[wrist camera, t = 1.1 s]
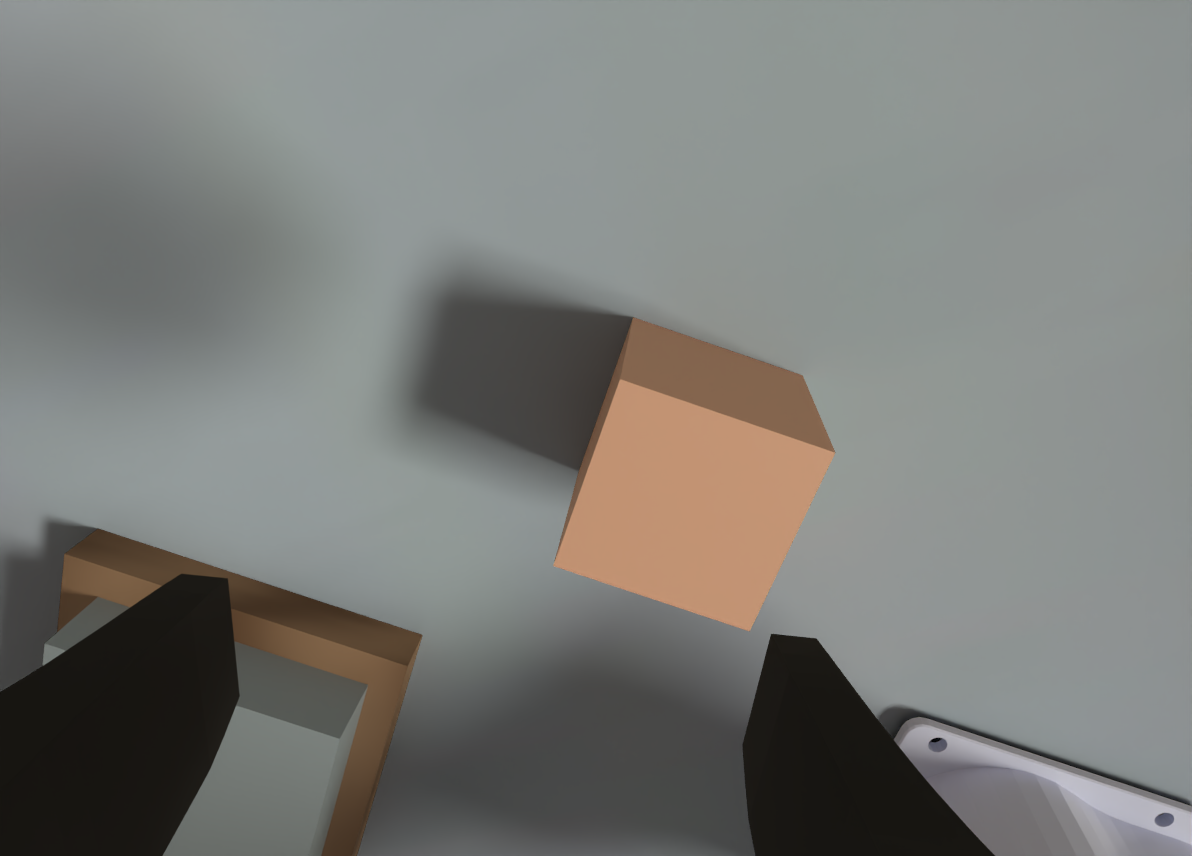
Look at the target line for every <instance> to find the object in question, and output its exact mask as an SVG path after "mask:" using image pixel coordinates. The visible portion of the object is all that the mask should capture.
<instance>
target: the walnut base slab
mask: <svg viewBox="0 0 1192 856" xmlns="http://www.w3.org/2000/svg"><path fill="white" fill-rule="evenodd" d="M180 574H190V575H200V576H210V577H220V578H228V583H229V593H230V603H231V613H232V623H233V633H234V641H235V642H238V643H241V644H244V645H247V646H250V647H253V648H256V649H259V650H263V651H266V652H269V653H272V654H275V655H278V656H281V657H284V658H287V659H290V660H293V661H296V662H299V663H302V664H306V665H309V666H312V667H315V668H318V669H321V670H324V671H327V672H330V673H333V674H336V675H339V676H342V677H345V678H348V679H352V680H355V681H358V682H361V683H364V684H367V685H368V687H367V691H366V695H365V698H364V702H363V706H362V709H361V713H360V717H359V720H358V724H357V727H356V731H355V735H354V738H353V742H352V746H351V749H350V753H349V757H348V760H347V764H346V767H345V771H344V775H343V778H342V782H341V786H340V789H339V793H338V797H337V800H336V804H335V807H334V811H333V815H332V818H331V822H330V826H329V829H328V833H327V837H326V840H325V844H324V847H323V851H322V855H321V856H357V853H358V850H359V847H360V843H361V840H362V837H363V833H364V830H365V827H366V823H367V820H368V817H369V813H370V810H371V806H372V803H373V800H374V796H375V793H376V790H377V786H378V783H379V780H380V776H381V773H382V770H383V766H384V763H385V759H386V756H387V753H388V749H389V746H390V743H391V739H392V736H393V733H394V729H395V726H396V722H397V719H398V716H399V712H400V709H401V706H402V702H403V699H404V696H405V692H406V689H407V686H408V682H409V679H410V675H411V672H412V669H413V665H414V662H415V659H416V655H417V652H418V649H419V645H420V642H421V639H422V635H421V634H418V633H415V632H412V631H409V630H406V629H402V628H399V627H396V626H393V625H390V624H387V623H384V622H381V621H378V620H375V619H372V618H369V617H366V616H363V615H360V614H357V613H354V612H351V611H348V610H345V609H342V608H338V607H335V606H332V605H329V604H326V603H323V602H320V601H317V600H314V599H311V598H308V597H305V596H302V595H299V594H296V593H293V592H290V591H287V590H284V589H281V588H278V587H274V586H271V585H268V584H265V583H262V582H259V581H256V580H253V579H250V578H247V577H244V576H241V575H238V574H235V573H232V572H229V571H226V570H223V569H220V568H217V567H214V566H210V565H207V564H204V563H201V562H198V561H195V560H192V559H189V558H186V557H183V556H180V555H177V554H174V553H171V552H168V551H165V550H162V549H159V548H156V547H153V546H150V545H146V544H143V543H140V542H137V541H134V540H131V539H128V538H125V537H122V536H119V535H116V534H113V533H110V532H107V531H104V530H101V529H97V530H96V531H94V532H93V533H92V534H90V535H89V536H88V537H86V538H85V539H84V540H82V541H81V542H80V543H78V544H77V545H76V546H74V547H73V548H72V549H70V550H69V551H68V552H66V553H65V554H64V564H63V575H62V585H61V596H60V607H59V617H58V628H57V632H58V631H59V630H61V629H62V628H63V627H64V626H65V625H66V624H67V623H69V622H70V621H71V620H72V619H73V618H74V617H76V616H77V615H78V614H79V613H80V612H81V611H82V610H84V609H85V608H86V607H87V606H88V605H89V604H90V603H92V602H93V601H94V600H95V599H96V598H97V597H100V598H103V599H106V600H109V601H112V602H115V603H118V604H121V605H124V606H127V607H132V606H133V605H134V604H136V603H137V602H139V601H140V600H142V599H143V598H145V597H146V596H148V595H149V594H151V593H152V592H154V591H155V590H157V589H158V588H160V587H161V586H163V585H164V584H166V583H167V582H169V581H170V580H172V579H174V578H175V577H177V576H178V575H180Z"/></svg>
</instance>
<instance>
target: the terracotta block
mask: <svg viewBox="0 0 1192 856" xmlns="http://www.w3.org/2000/svg"><path fill="white" fill-rule="evenodd" d="M834 454H835V451H834V448H833V446H832V444H831V441H830V439H829V437H828V434H827V432H826V430H825V427H824V425H823V423H822V420H821V418H820V415H819V413H818V411H817V408H816V406H815V404H814V401H813V399H812V397H811V394H810V392H809V390H808V387H807V385H806V382H805V380H804V378H803V376H802V375H799V374H797V373H794V372H791V371H788V370H785V369H782V368H779V367H776V366H773V365H770V364H767V363H765V362H762V361H759V360H756V359H753V358H750V357H747V356H744V355H741V354H738V353H735V352H733V351H730V350H727V349H724V348H721V347H718V346H715V345H712V344H709V343H706V342H704V341H701V340H698V339H695V338H692V337H689V336H686V335H683V334H680V333H677V332H674V331H672V330H669V329H666V328H663V327H660V326H657V325H654V324H651V323H648V322H645V321H642V320H640V319H637V318H634V317H633V319H632V322H631V325H630V328H629V331H628V334H627V336H626V339H625V342H624V345H623V348H622V351H621V353H620V356H619V359H618V362H617V365H616V367H615V370H614V373H613V376H612V379H611V382H610V384H609V387H608V390H607V393H606V396H605V399H604V401H603V404H602V407H601V410H600V413H599V416H598V418H597V421H596V424H595V427H594V430H593V433H592V435H591V438H590V441H589V444H588V447H587V450H586V452H585V455H584V458H583V461H582V464H581V467H580V469H579V473H578V476H577V480H576V484H575V487H574V491H573V495H572V499H571V502H570V506H569V510H568V513H567V517H566V521H565V525H564V528H563V532H562V536H561V539H560V543H559V547H558V551H557V554H556V558H555V562H554V565H553V566H555V567H558V568H561V569H564V570H567V571H570V572H573V573H576V574H579V575H582V576H585V577H588V578H591V579H594V580H597V581H600V582H603V583H606V584H609V585H612V586H615V587H618V588H621V589H624V590H627V591H630V592H633V593H636V594H639V595H642V596H645V597H648V598H651V599H654V600H657V601H660V602H663V603H666V604H669V605H672V606H675V607H678V608H681V609H684V610H687V611H690V612H693V613H696V614H699V615H702V616H705V617H708V618H711V619H714V620H717V621H720V622H723V623H726V624H729V625H732V626H735V627H738V628H741V629H744V630H747V631H750V629H751V627H752V625H753V623H754V621H755V619H756V617H757V615H758V613H759V611H760V609H761V606H762V604H763V602H764V600H765V598H766V596H767V594H768V592H769V590H770V588H771V586H772V584H773V581H774V579H775V577H776V575H777V573H778V571H779V569H780V567H781V565H782V563H783V561H784V559H785V557H786V554H787V552H788V550H789V548H790V546H791V544H792V542H793V540H794V538H795V536H796V534H797V532H798V529H799V527H800V525H801V523H802V521H803V519H804V517H805V515H806V513H807V511H808V509H809V507H810V504H811V502H812V500H813V498H814V496H815V494H816V492H817V490H818V488H819V486H820V484H821V482H822V479H823V477H824V475H825V473H826V471H827V469H828V467H829V465H830V463H831V461H832V459H833V457H834Z"/></svg>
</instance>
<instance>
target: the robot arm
mask: <svg viewBox="0 0 1192 856" xmlns="http://www.w3.org/2000/svg"><path fill="white" fill-rule="evenodd" d="M239 697H240V693H239V683H238V673H237V663H236V653H235V643H234V633H233V623H232V613H231V603H230V593H229V583H228V578H220V577H210V576H200V575H190V574H180V575H178V576H177V577H175V578H174V579H172V580H170V581H169V582H167V583H166V584H164V585H163V586H161V587H160V588H158V589H157V590H155V591H154V592H152V593H151V594H149V595H148V596H146V597H145V598H143V599H142V600H140V601H139V602H137V603H136V604H134V605H133V606H132V607H130V608H129V609H127V610H126V611H124V612H123V613H121V614H120V615H118V616H117V617H115V618H114V619H112V620H111V621H110V622H108V623H107V624H105V625H104V626H102V627H101V628H99V629H98V630H96V631H95V632H93V633H92V634H90V635H89V636H87V637H86V638H84V639H83V640H81V641H80V642H78V643H77V644H75V645H74V646H72V647H71V648H69V649H68V650H66V651H65V652H63V653H62V654H60V655H59V656H57V657H56V658H54V659H53V660H51V661H50V662H48V663H46V664H45V665H43V666H42V667H40V668H39V669H37V670H36V671H34V672H33V673H31V674H29V675H28V676H26V677H25V678H23V679H21V680H20V681H18V682H16V683H15V684H13V685H11V686H10V687H8V688H7V689H5V690H3V691H2V692H0V856H163V854H164V852H165V851H166V849H167V847H168V845H169V843H170V842H171V840H172V838H173V836H174V835H175V833H176V831H177V829H178V827H179V826H180V824H181V822H182V820H183V818H184V816H185V815H186V813H187V811H188V809H189V807H190V806H191V804H192V802H193V800H194V798H195V797H196V795H197V793H198V791H199V789H200V787H201V786H202V784H203V782H204V780H205V778H206V776H207V774H208V773H209V771H210V769H211V766H212V764H213V762H214V759H215V757H216V755H217V752H218V750H219V747H220V745H221V743H222V740H223V738H224V736H225V733H226V730H227V728H228V725H229V723H230V720H231V718H232V715H233V712H234V710H235V707H236V705H237V702H238V700H239ZM934 738H942V739H941V740H940V741H938V742H935V743H934V742H930V741H931V740H932V739H934ZM743 759H744V773H745V786H746V797H747V807H748V818H749V824H750V830H751V835H752V840H753V845H754V850H755V855H756V856H1192V806H1190V805H1187V804H1184V803H1181V802H1178V801H1175V800H1172V799H1168V798H1165V797H1162V796H1159V795H1156V794H1153V793H1150V792H1147V791H1144V790H1141V789H1138V788H1135V787H1132V786H1129V785H1126V784H1123V783H1120V782H1117V781H1114V780H1111V779H1108V778H1105V777H1102V776H1099V775H1096V774H1093V773H1090V772H1087V771H1084V770H1081V769H1078V768H1075V767H1072V766H1069V765H1066V764H1063V763H1060V762H1057V761H1054V760H1051V759H1048V758H1045V757H1042V756H1039V755H1036V754H1033V753H1030V752H1027V751H1024V750H1021V749H1018V748H1015V747H1012V746H1009V745H1006V744H1003V743H1000V742H997V741H994V740H991V739H988V738H984V737H981V736H978V735H975V734H972V733H969V732H966V731H963V730H960V729H957V728H954V727H951V726H948V725H945V724H942V723H939V722H936V721H933V720H930V719H927V718H922V717H916V718H912V719H910V720H908V721H906V722H905V723H904V724H903V725H902V727H901V728H900V730H899V732H898V733H897V735H896V737H895V738H894V740H893V739H892V737H891V736H890V735H889V734H888V732H887V731H886V730H885V728H884V727H883V726H882V725H881V723H880V722H879V721H878V719H877V718H876V717H875V716H874V714H873V713H872V712H871V710H870V709H869V708H868V706H867V705H866V704H865V702H864V701H863V700H862V698H861V697H860V696H859V695H858V693H857V692H856V691H855V689H854V688H853V686H852V685H851V684H850V682H849V681H848V680H847V678H846V677H845V676H844V674H843V673H842V672H841V670H840V669H839V668H838V666H837V665H836V664H835V662H834V661H833V660H832V658H831V657H830V656H829V654H828V653H827V652H826V651H825V649H824V648H823V647H822V645H821V644H820V643H819V641H818V640H817V639H816V638H806V637H796V636H786V635H777V634H771V637H770V640H769V644H768V648H767V652H766V656H765V660H764V664H763V668H762V672H761V676H760V679H759V683H758V687H757V691H756V695H755V699H754V703H753V707H752V711H751V714H750V718H749V722H748V726H747V730H746V734H745V738H744V742H743ZM1162 813H1164V814H1162ZM1159 814H1162V815H1159ZM1158 815H1159V816H1158Z"/></svg>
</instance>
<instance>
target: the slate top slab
mask: <svg viewBox="0 0 1192 856" xmlns="http://www.w3.org/2000/svg"><path fill="white" fill-rule="evenodd" d="M129 608H130V607H127V606H124V605H121V604H118V603H115V602H112V601H109V600H106V599H103V598H100V597H97V598H96V599H95V600H94V601H93V602H92V603H90V604H89V605H88V606H87V607H86V608H85V609H84V610H82V611H81V612H80V613H79V614H78V615H77V616H76V617H74V618H73V619H72V620H71V621H70V622H69V623H67V624H66V625H65V626H64V627H63V628H62V629H61V630H59V631H58V632H57V633H56V634H55V635H54V636H53V637H51V638H50V639H49V640H48V641H47V642H46V643H44V655H43V665H45V664H46V663H48V662H50V661H51V660H53V659H54V658H56V657H57V656H59V655H60V654H62V653H63V652H65V651H66V650H68V649H69V648H71V647H72V646H74V645H75V644H77V643H78V642H80V641H81V640H83V639H84V638H86V637H87V636H89V635H90V634H92V633H93V632H95V631H96V630H98V629H99V628H101V627H102V626H104V625H105V624H107V623H108V622H110V621H111V620H112V619H114V618H115V617H117V616H118V615H120V614H121V613H123V612H124V611H126V610H127V609H129ZM234 643H235V653H236V663H237V673H238V683H239V693H240V697H239V700H238V702H237V705H236V707H235V710H234V712H233V715H232V718H231V720H230V723H229V725H228V728H227V730H226V733H225V736H224V738H223V740H222V743H221V745H220V747H219V750H218V752H217V755H216V757H215V759H214V762H213V764H212V766H211V769H210V771H209V773H208V774H207V776H206V778H205V780H204V782H203V784H202V786H201V787H200V789H199V791H198V793H197V795H196V797H195V798H194V800H193V802H192V804H191V806H190V807H189V809H188V811H187V813H186V815H185V816H184V818H183V820H182V822H181V824H180V826H179V827H178V829H177V831H176V833H175V835H174V836H173V838H172V840H171V842H170V843H169V845H168V847H167V849H166V851H165V852H164V854H163V856H321V855H322V851H323V847H324V844H325V840H326V837H327V833H328V829H329V826H330V822H331V818H332V815H333V811H334V807H335V804H336V800H337V797H338V793H339V789H340V786H341V782H342V778H343V775H344V771H345V767H346V764H347V760H348V757H349V753H350V749H351V746H352V742H353V738H354V735H355V731H356V727H357V724H358V720H359V717H360V713H361V709H362V706H363V702H364V698H365V695H366V691H367V687H368V685H367V684H364V683H361V682H358V681H355V680H352V679H348V678H345V677H342V676H339V675H336V674H333V673H330V672H327V671H324V670H321V669H318V668H315V667H312V666H309V665H306V664H302V663H299V662H296V661H293V660H290V659H287V658H284V657H281V656H278V655H275V654H272V653H269V652H266V651H263V650H259V649H256V648H253V647H250V646H247V645H244V644H241V643H238V642H235V641H234Z"/></svg>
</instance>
